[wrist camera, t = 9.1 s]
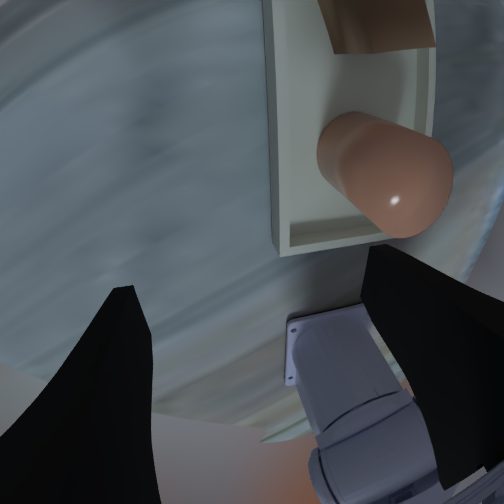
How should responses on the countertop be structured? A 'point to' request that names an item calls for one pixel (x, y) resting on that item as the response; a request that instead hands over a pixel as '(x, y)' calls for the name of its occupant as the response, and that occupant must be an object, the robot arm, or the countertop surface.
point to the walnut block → (377, 25)
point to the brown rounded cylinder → (386, 171)
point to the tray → (329, 119)
